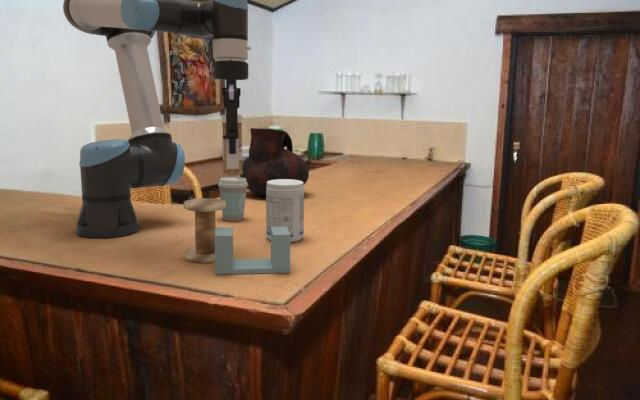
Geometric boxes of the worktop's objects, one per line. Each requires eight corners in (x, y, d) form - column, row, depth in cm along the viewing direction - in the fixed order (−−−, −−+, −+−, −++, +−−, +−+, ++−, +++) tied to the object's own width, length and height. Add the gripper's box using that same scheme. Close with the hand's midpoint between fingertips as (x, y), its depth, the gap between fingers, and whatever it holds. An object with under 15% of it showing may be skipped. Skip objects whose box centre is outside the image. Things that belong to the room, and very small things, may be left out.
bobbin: (183, 263, 114) (181, 206, 111) (186, 251, 122) (185, 198, 120) (225, 262, 115) (225, 205, 113) (226, 250, 124) (226, 198, 121)
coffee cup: (242, 223, 151) (242, 181, 149) (213, 221, 153) (213, 179, 151) (251, 217, 160) (251, 177, 158) (224, 215, 161) (224, 176, 159)
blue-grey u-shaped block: (215, 274, 107) (214, 235, 105) (216, 264, 114) (216, 227, 112) (289, 272, 109) (290, 234, 108) (286, 262, 116) (287, 226, 115)
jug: (320, 194, 202) (322, 128, 197) (281, 204, 181) (282, 130, 176) (268, 187, 215) (268, 125, 210) (225, 196, 194) (225, 126, 189)
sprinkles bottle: (234, 176, 118) (233, 114, 116) (218, 174, 120) (217, 114, 118) (247, 174, 122) (246, 114, 120) (231, 172, 124) (230, 114, 122)
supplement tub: (285, 232, 143) (286, 177, 140) (311, 239, 136) (312, 182, 134) (258, 238, 136) (258, 181, 133) (283, 245, 130) (284, 185, 127)
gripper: (249, 57, 109) (250, 171, 113) (247, 64, 126) (248, 163, 130) (211, 56, 108) (214, 171, 112) (215, 64, 125) (217, 163, 129)
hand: (232, 167), depth 121 cm, fingers closed on sprinkles bottle, 4 cm apart
